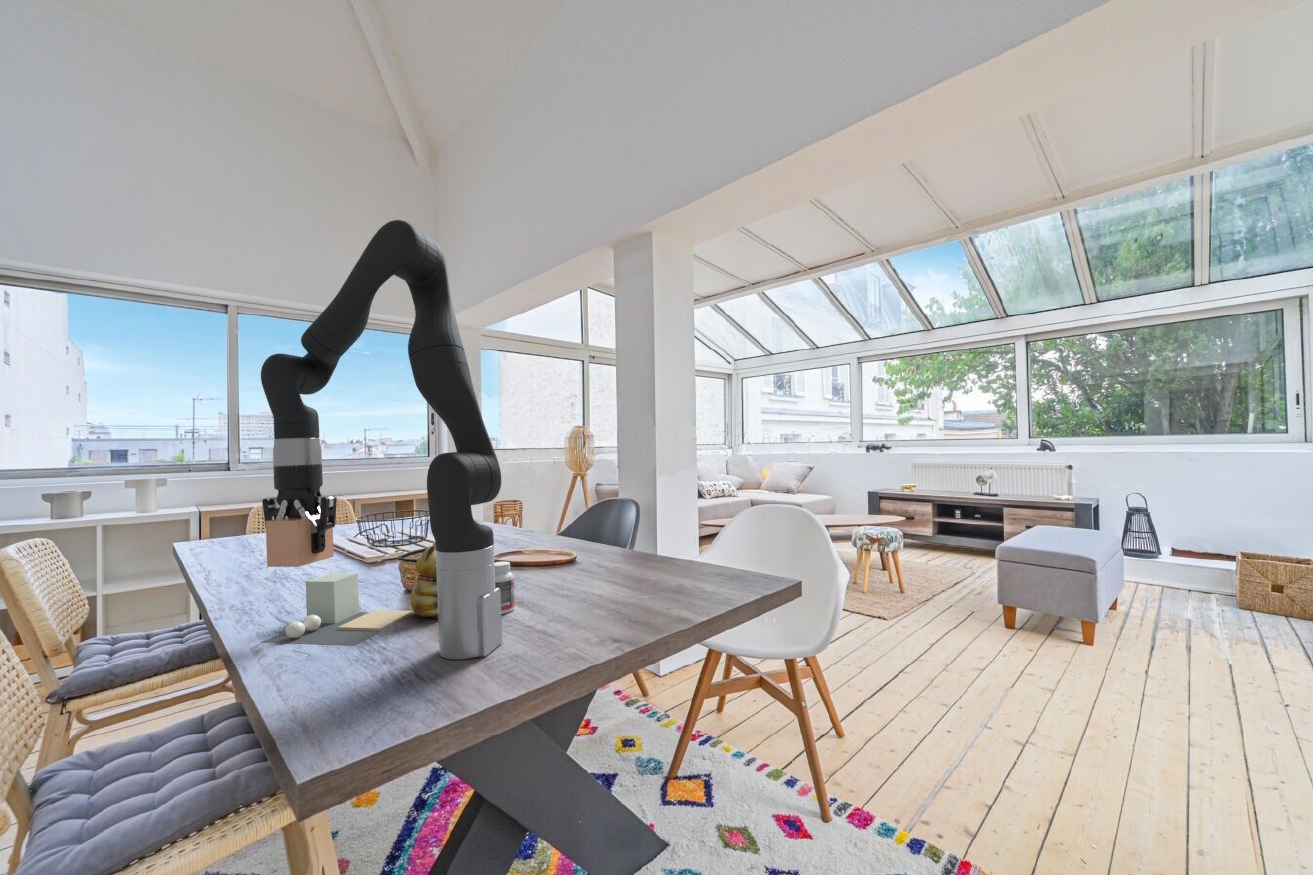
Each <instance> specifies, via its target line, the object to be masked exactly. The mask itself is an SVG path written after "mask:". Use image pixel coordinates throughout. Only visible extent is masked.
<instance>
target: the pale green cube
mask: <svg viewBox="0 0 1313 875" xmlns="http://www.w3.org/2000/svg"><path fill="white" fill-rule="evenodd" d="M358 576H359V575H358V573H355V572H354V573H352V572H351V573H344V572H343V573H340V572H339V573H337V572H335V573H333V572H331V573H327V574H324V575H321V576H318V577H316V578H312V579H309V580H306V581H305V598H306V599H305V601H306V603H305V604H306V617H307V616H309V615H317V616H319V617H320V619H321V623H338V622H340V621H342V620H344V619H347V618H349V617H351V616H353V615H355V614H358V613H359V612H360V605H359V604H360V603H359V599H360V598H359V578H358Z"/></svg>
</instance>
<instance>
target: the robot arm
mask: <svg viewBox="0 0 1313 875" xmlns="http://www.w3.org/2000/svg"><path fill="white" fill-rule="evenodd" d="M393 276H395V277H397V278H399V279H401V280H402V281H404V282H405V283H406V284H407V286H408V289H409V291H410V294H411V298H412V302H413V306H414V313H415V315H414V316H415V317H414V322H413V325H412V328H411V331H410V334H409V337H408V342H407V343H408V344H407V355H408V359H409V364H410V368H411V373H412V376H413V380H414V383H415V386H416V388H417V390H418V391H419V393H420V394H421V397H423V399H424V400H425V401H426V403H427V404H428V405H429V406H430V408H431V409H432V410H434V412H435V413H436V414H437V415H438V416H439V417H440V419H441V420H442V422H443V423H444V424H445V425H446V427H447V429H448V431H449V433H450V435H451V437H452V441H453V443H454V446H455V450H456V451H454V452H443V453H440V454H438V455H436V456H435V457H433V459H432V460H431V462H430V464H429V466H428V470H427V474H426V476H427V477H426V492H427V494H426V495H427V502H428V514H429V516H428V517H429V525H430V530H431V534H432V536H433V538H434V542H435V543H434V544H436V567H437V568H436V571H437V599H438V619H437V620H438V623H437V625H438V626H437V627H438V644H439V646H438V648H439V655H440V657H442V658H444V659H449V660H466V659H473V658H478V657H487V656H488V655H489V654H490V653H492V652H493V651H494V650H495V649H497V647H499V646H500V645H501V644H503V629H502V628H503V625H502V623H503V622H502V614H501V593H500V588H495V565H494V563H495V545H494V544H495V543H494V542H495V541H494V540H495V538H494V531H493V528H492V527H490V526H488V525H485V524H480V523H479V522H477V521H476V520H475V519H474V516H473V511H472V506H476V505H482V504H486V503H490V502H492V501H493V500H495V499H496V498H497V497H498V495H499V494H500V491H501V487H502V471H501V465H500V464H499V460H498V457H497V454H496V451H495V449H494V446H493V444H492V441H491V439H490V436H489V433H488V431H487V428H486V425H485V423H484V422H485V421H484V420H483V416H482V413H481V409H480V406H479V403H478V399H477V395H476V392H475V389H474V385H473V381H472V376H471V371H470V368H469V364H468V359H467V356H466V352H465V349H464V345H463V342H462V338H461V335H460V332H459V330H460V329H459V327H458V323H457V318H456V315H455V310H454V307H453V303H452V297H451V290H450V282H449V276H448V268H447V261H446V257H445V254H444V252H443V249H442V247H441V246H440V244H439V243H438V242H437V241H436V240H434V239H433V238H432V237H431V236H429V235H428V234H426V233H425V232H423V231H421V230H420V229H418V227H416V226H414V225H413V224H411V223H409V222H408V221H406V220H401V219H394V220H390V221H388V222H386V223H385V224H383V225H381V227H380V228H378V230H377V231H376V233H375V234H374V235H373V237H372V238H371V240H369V243H368V244H367V245H366V247H365V248H364V250H363V252H362V254H361V255H360V257H359V259H358V260H357V262H356V263H355V265H354V266H353V268H352V270H351V271H350V273H349V275H348V277H347V278H346V279H345V281H344V283H343V284H342V286H341V288H340V290H339V291H338V292H337V294H336V295H335V297H334V298H333V299H332V300H331V302H330V303H329V304H328V305H327V307H326V308H325V309H324V310H323V311H322V312H321V313H320V314H319V315H318V316H317V318H315V320H314V321H313V322H312V323H311V324H310V325H309V327H307V329H306V330H304V332H303V333H302V335H301V336H300V337H301V338H300V343H301V346H302V348H304V350H305V352H306V354H305V355H304V356H298V355H293V354H287V353H274V354H271V355H270V356H269V357H267V358H266V359H265V360H264V362H263V363H262V366H261V368H260V381H261V382H260V383H261V385H262V389H263V392H264V394H265V395H264V396H265V398H266V400H267V403H268V407H269V410H270V412H271V413H272V414H271V415H272V417H273V439H274V440H273V448H272V449H273V450H272V459H273V460H272V463H273V465H272V466H273V487H274V489H275V491H277V496H275V497H266V498H263V499H262V501H261V502H262V509H263V512H262V513H263V519H264V527H265V529H266V521H269V520H274V519H285V518H296V517H297V518H302V519H308V521H309V522H310V530H311V532H312V533H313V534H311V549H312V553H313V554H317V553H321V552H323V551H324V549H325V546H326V545H325V531H326V530H327V529H330V528H333V529H334V528H335V527H336V518H337V517H336V514H337V503H338V502H337V500H338V499H337V496H336V495H331V496H330V495H329V496H326V495H324V496H323V495H322V493H321V488H322V486H323V481H324V480H323V459H322V458H323V457H322V456H323V455H322V446H321V440H320V421H319V420H320V419H319V413H318V411H317V410H316V409H314V408H312V407H310V406H308V405H306V404H305V403H304V402H303V399H302V396H301V395H305V396H307V395H314V394H316V393H318V392H319V391H321V390H322V389H324V387H326V385H327V384H328V383H329V382H330V379H331V377H332V376H333V374H334V372H335V370H336V368H337V367H338V364H339V361H340V359H341V357H342V356H344V354H346V352H347V351H348V350H349V349H350V348H351V347H352V346H353V344H354V343H356V342H357V340H359V338H360V337H361V336H362V334H363V332H364V331H365V329H366V327H367V324H368V320H369V316H370V312H371V309H372V308H371V307H372V303H373V300H374V299H375V296H376V293H377V292H378V291H379V289H380V288H381V287H382V286H383V285H384V284H385V283H386V282H387V281H388V280H389V279H390V278H391V277H393ZM313 514H314V515H315V516H312V515H313ZM327 519H328V522H327ZM315 520H318V521H319V525H316V523H315Z"/></svg>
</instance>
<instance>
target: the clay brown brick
mask: <svg viewBox="0 0 1313 875" xmlns="http://www.w3.org/2000/svg"><path fill="white" fill-rule="evenodd" d="M312 516H315V515H314V514H313V515H312ZM327 522H328V519H327ZM315 523H316V525H319V521H318V520H315ZM311 534H313V533H312V532H311V530H310V522H309V521H308V519H302V518H297V517H296V518H285V519H274V518H273V519H272V520H269V521H266V528H265V541H266V542H265V543H266V567H267V568H271V567H272V568H273V567H274V568H278V567H279V568H299V567H303V566H305V565H311V564H313V563H316V562H320V561H323V560H326V559H330V558H333V557H335V555H334V554H335V553H334V550H335V549H334V527H333V528H330V529H327V530H326V531H325V545H326V546H325V549H324V551H323V552H321V553H317V554H313V553H312V549H311Z"/></svg>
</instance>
